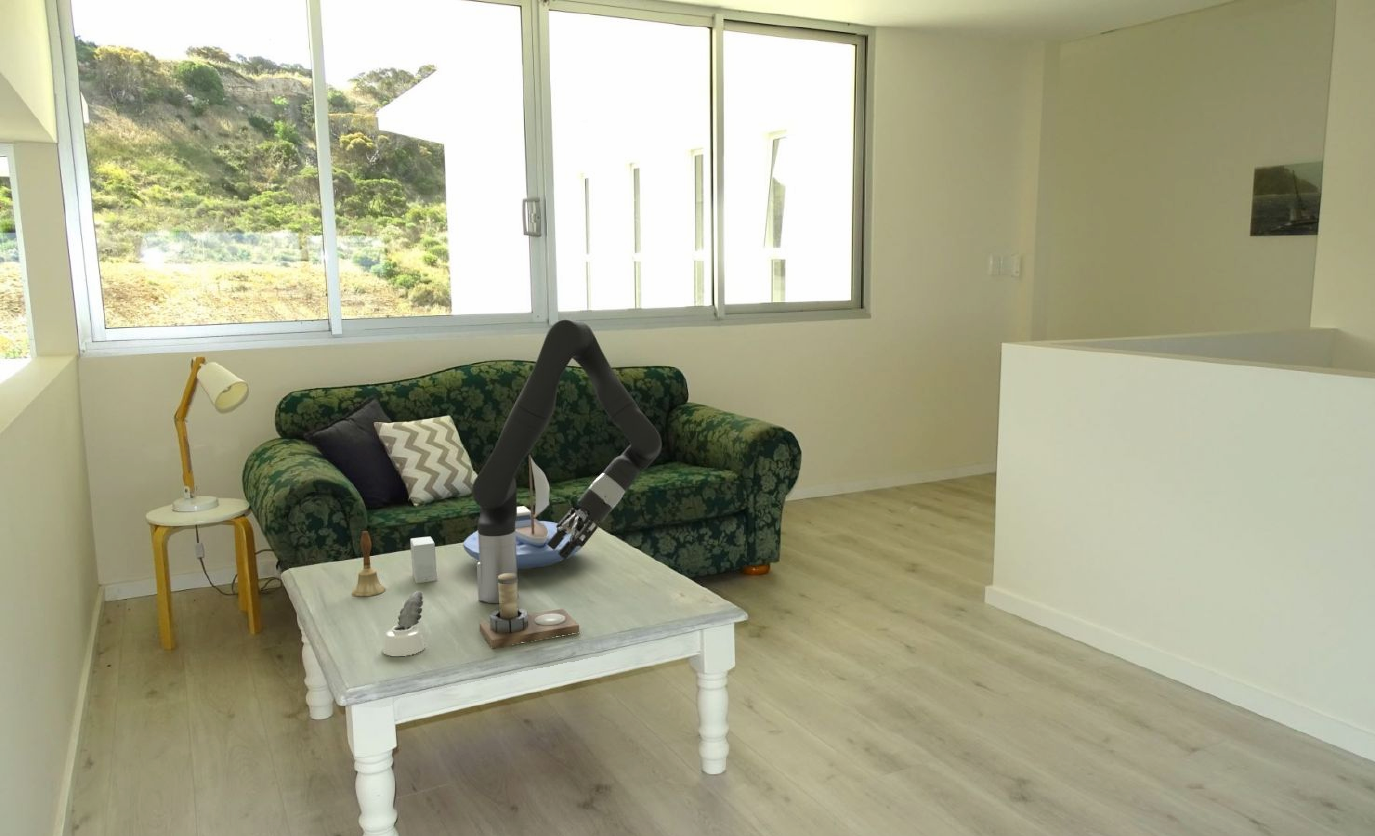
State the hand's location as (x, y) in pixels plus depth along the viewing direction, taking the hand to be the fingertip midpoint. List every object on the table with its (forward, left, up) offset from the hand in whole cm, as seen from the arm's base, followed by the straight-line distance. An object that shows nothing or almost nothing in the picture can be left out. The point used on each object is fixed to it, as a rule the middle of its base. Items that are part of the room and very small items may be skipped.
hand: (555, 551), depth 225 cm
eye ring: (-9, -6, -16) cm, 20 cm away
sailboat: (-24, +48, -18) cm, 57 cm away
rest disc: (-2, -1, -16) cm, 16 cm away
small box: (-47, +31, -18) cm, 59 cm away
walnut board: (-6, -4, -18) cm, 19 cm away
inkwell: (-31, -13, -18) cm, 38 cm away
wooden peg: (-9, -6, -16) cm, 20 cm away
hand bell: (-57, +19, -18) cm, 63 cm away
